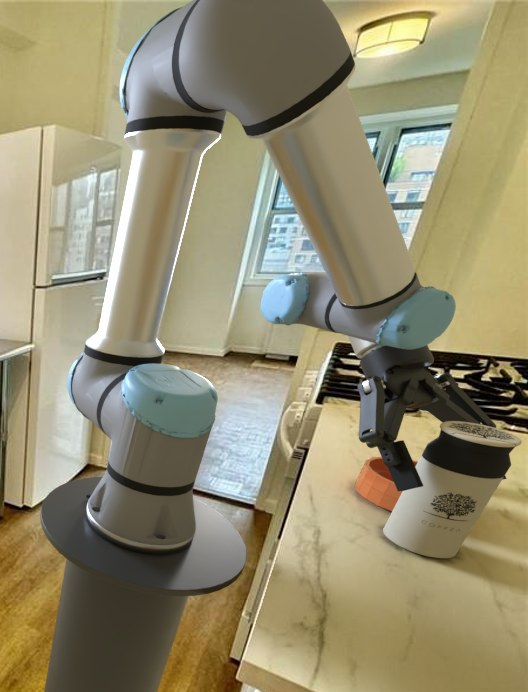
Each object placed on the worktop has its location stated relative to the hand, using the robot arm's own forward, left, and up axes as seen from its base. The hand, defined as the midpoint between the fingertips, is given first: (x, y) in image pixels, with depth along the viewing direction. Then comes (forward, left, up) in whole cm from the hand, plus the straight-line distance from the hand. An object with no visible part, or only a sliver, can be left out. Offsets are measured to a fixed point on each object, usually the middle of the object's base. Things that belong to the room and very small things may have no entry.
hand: (452, 485), depth 66 cm
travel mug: (0, 0, -10) cm, 10 cm away
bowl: (-2, +14, -10) cm, 18 cm away
